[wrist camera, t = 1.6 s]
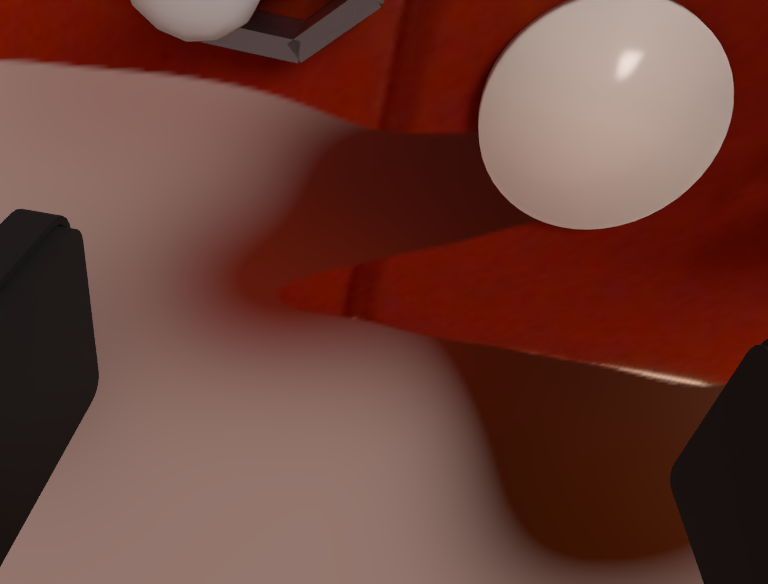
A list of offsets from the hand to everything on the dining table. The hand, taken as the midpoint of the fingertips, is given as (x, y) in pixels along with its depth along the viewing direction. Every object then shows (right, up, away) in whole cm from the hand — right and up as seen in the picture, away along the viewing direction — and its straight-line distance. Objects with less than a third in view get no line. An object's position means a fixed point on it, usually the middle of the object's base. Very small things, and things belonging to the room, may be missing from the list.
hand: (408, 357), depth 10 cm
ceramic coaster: (+10, +10, +24) cm, 28 cm away
